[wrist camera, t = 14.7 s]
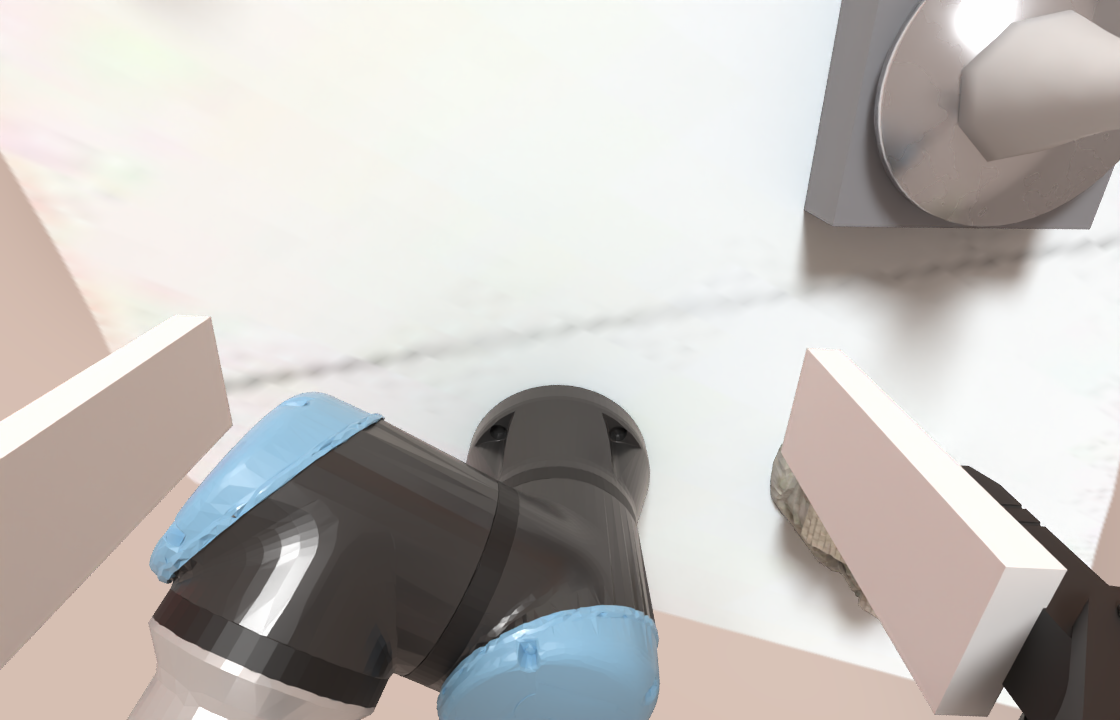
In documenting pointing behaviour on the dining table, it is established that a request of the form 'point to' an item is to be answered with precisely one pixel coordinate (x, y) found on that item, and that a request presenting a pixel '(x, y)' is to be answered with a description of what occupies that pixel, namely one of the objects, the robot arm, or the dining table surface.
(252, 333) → the dining table surface
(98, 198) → the dining table surface
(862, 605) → the ceramic cottage
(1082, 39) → the flask
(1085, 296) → the dining table surface
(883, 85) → the scale pan
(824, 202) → the base
